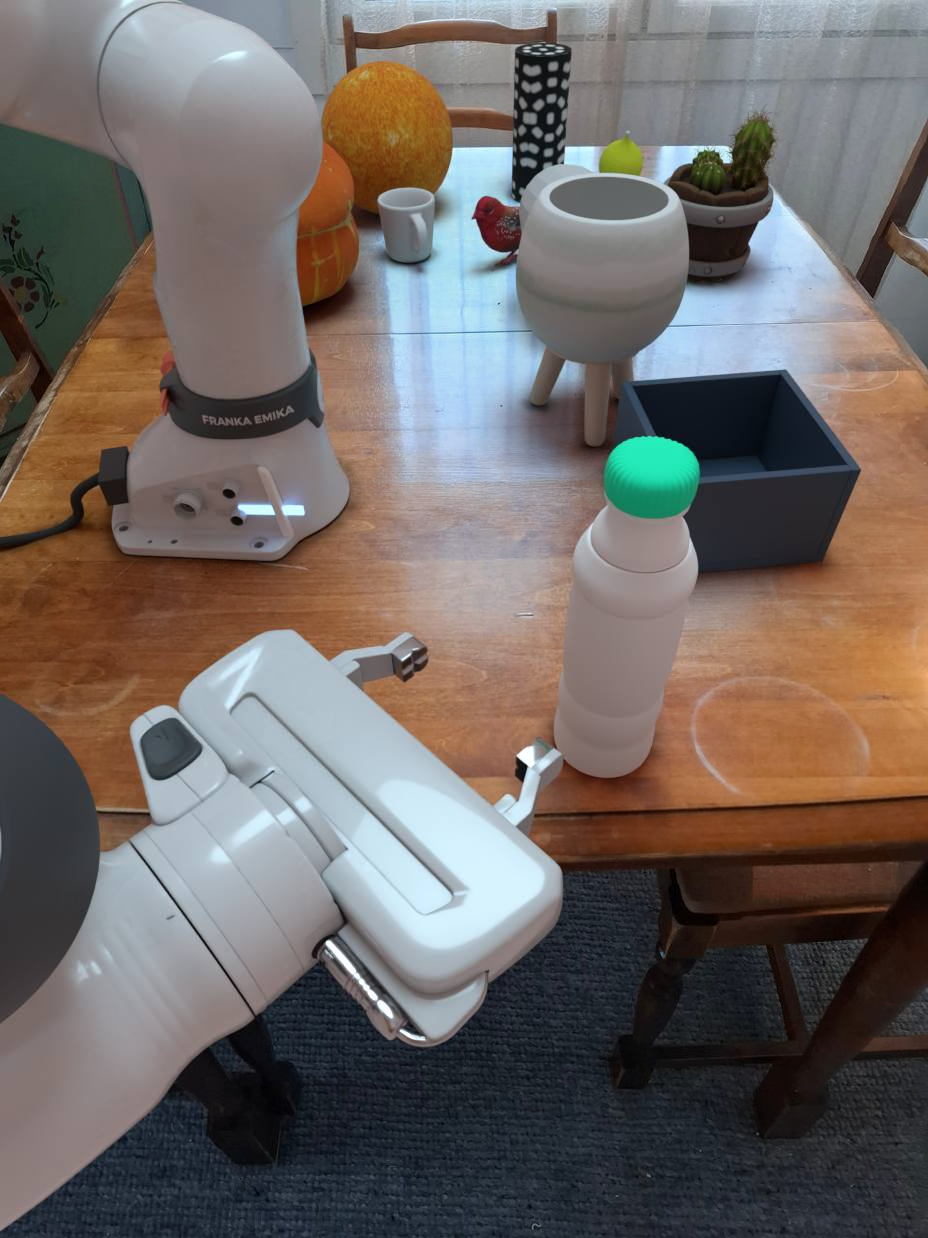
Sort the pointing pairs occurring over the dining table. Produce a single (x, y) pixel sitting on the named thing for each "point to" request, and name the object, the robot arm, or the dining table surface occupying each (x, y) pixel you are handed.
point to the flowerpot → (725, 200)
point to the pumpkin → (327, 231)
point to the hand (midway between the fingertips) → (481, 696)
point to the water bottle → (627, 608)
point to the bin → (748, 464)
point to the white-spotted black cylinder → (539, 110)
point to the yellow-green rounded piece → (621, 158)
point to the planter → (600, 280)
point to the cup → (407, 223)
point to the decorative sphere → (388, 130)
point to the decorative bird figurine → (499, 226)
